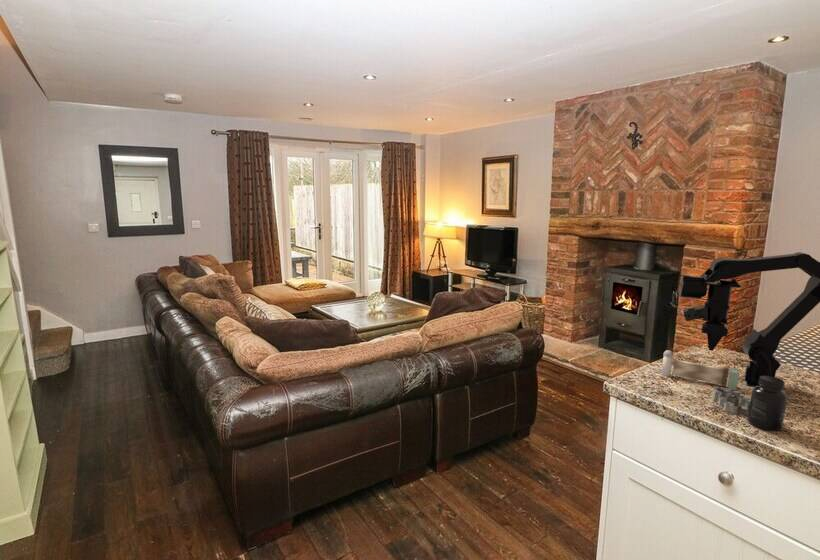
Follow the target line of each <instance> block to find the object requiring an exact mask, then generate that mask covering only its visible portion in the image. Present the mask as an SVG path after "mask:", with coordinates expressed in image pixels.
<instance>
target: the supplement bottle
mask: <svg viewBox="0 0 820 560" xmlns="http://www.w3.org/2000/svg"><path fill="white" fill-rule="evenodd" d="M785 383H786V382H785V380H783V379H782V378H779V377H776V376H775V377H772V376H760V378H759V382H758V384H759V386H756V387H755V386H753V388H752V391H751V396H750V399H751V401H750V407H749V414H748V415H747V422H748V424H750V425H751V426H753V427H755V428H757V429H760V430H763V431H767V432H768V431H769V432H779V431H781V430H782V429H783V425H784V419H785V416H786V415H785V414H786V409H787V404H788V395H787V393H786V392H785V391H783V390H785Z"/></svg>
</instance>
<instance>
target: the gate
mask: <svg viewBox="0 0 820 560" xmlns="http://www.w3.org/2000/svg"><path fill="white" fill-rule="evenodd" d="M672 369H673V370H672V376H677V377H682V378H688V379H693V380H696V381H697V380H698V381H703V382H707V383H711V384H712V383H713V384H717V385H721V386H728V378H729V371H730V368H729V366H728V367H726V366H723V367H719V366H714V365H713V366H712V365H708V364H701V363H696V362H690V361H686V360H680V359H679V360H678V359H674V360H673V367H672Z"/></svg>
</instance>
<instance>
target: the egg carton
mask: <svg viewBox="0 0 820 560" xmlns="http://www.w3.org/2000/svg"><path fill="white" fill-rule="evenodd" d="M712 388H713V394H712V399H713V401H717V405H718V406H721V407H723V411H725V412H727V413H729V414H732V415H737V414H739V413H740V414H743V415H746V416H748V414H749V407H750V401H751V397H748V396H746V395H744V394H742V393H741V392H740V391H739V390H737V389H736V390H732V389H728V387H722V386H720V387H718V386H715V385H712ZM736 401H738V405H737V406H736Z"/></svg>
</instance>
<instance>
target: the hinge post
mask: <svg viewBox="0 0 820 560" xmlns="http://www.w3.org/2000/svg"><path fill="white" fill-rule="evenodd" d="M673 357H674V352H673V351H672V350H669V349H668V350H667V349H666V350H665V351H664V352H663V359H662V366H661V376H665V377H670V376H671V373H672V372H671V371H672V364H673Z"/></svg>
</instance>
